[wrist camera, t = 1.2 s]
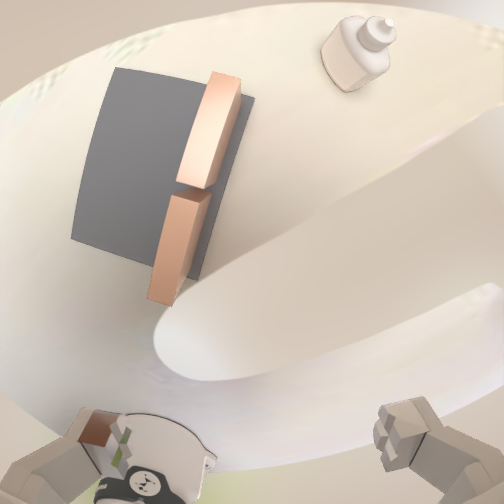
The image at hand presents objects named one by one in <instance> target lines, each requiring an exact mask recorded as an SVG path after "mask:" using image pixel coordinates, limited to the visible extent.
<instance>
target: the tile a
mask: <svg viewBox="0 0 504 504" xmlns="http://www.w3.org/2000/svg"><path fill="white" fill-rule="evenodd" d="M211 196H212V192H209V191H206V190H202V189H199V188H195V187H191V188H188V189H186V190H183V191H180V192H178V193H175V194H173V195H172V196H171V199H170V203H169V207H168V210H167V214H166V218H165V222H164V226H163V230H162V234H161V238H160V242H159V246H158V250H157V254H156V259H155V263H154V267H153V272H152V276H151V281H150V286H149V291H148V295H147V299H149V300H152V301H155V302H158V303H162V304H165V305H168V306H171V307H172V305H173V303H174V301H175V299H176V297H177V295H178V293H179V291H180V289H181V287H182V285H183V283H184V281H185V279H186V277H187V275H188V273H189V271H190V269H191V265H192V261H193V258H194V254H195V250H196V247H197V243H198V240H199V236H200V233H201V229H202V226H203V223H204V219H205V216H206V212H207V209H208V206H209V202H210V199H211Z"/></svg>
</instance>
